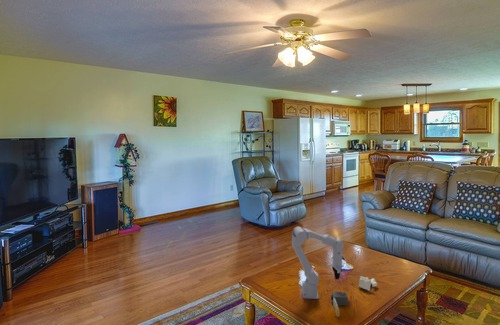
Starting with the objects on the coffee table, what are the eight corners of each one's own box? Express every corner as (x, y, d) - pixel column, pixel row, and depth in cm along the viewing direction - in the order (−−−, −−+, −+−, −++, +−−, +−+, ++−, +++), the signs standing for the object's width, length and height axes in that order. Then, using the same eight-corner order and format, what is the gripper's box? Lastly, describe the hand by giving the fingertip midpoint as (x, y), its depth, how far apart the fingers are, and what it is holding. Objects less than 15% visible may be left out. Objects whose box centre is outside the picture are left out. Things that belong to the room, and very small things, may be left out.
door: (331, 304, 176) (332, 297, 176) (334, 305, 176) (334, 297, 176) (336, 317, 165) (336, 308, 164) (339, 317, 164) (339, 309, 164)
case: (331, 304, 177) (331, 295, 176) (330, 299, 183) (330, 290, 182) (347, 305, 176) (347, 296, 175) (345, 299, 182) (345, 291, 181)
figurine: (369, 281, 188) (381, 278, 197) (356, 275, 195) (367, 273, 205) (368, 292, 188) (379, 289, 197) (354, 287, 195) (366, 283, 204)
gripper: (346, 263, 179) (345, 285, 180) (341, 253, 193) (341, 273, 195) (334, 262, 180) (333, 284, 181) (330, 253, 194) (330, 273, 195)
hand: (336, 278), depth 188 cm, fingers closed
